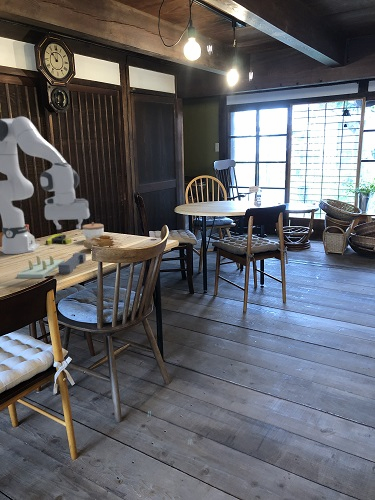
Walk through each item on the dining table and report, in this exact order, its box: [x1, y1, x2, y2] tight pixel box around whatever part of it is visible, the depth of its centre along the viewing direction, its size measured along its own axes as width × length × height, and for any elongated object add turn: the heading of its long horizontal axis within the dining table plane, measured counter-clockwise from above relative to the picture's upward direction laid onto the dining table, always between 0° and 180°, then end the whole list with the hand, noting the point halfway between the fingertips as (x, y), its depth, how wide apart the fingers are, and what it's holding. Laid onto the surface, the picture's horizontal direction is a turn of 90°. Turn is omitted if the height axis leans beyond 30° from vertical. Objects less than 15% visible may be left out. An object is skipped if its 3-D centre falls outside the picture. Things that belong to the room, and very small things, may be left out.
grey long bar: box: [57, 252, 87, 275], centre depth 191 cm, size 21×5×4 cm, turn 175°
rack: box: [16, 255, 66, 279], centre depth 188 cm, size 24×12×6 cm, turn 175°
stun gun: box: [45, 233, 73, 246], centre depth 247 cm, size 3×19×15 cm
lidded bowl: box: [81, 222, 105, 240], centre depth 245 cm, size 13×13×11 cm
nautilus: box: [82, 234, 123, 250], centre depth 223 cm, size 8×22×15 cm
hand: (68, 228), depth 187 cm, fingers open, 8 cm apart
